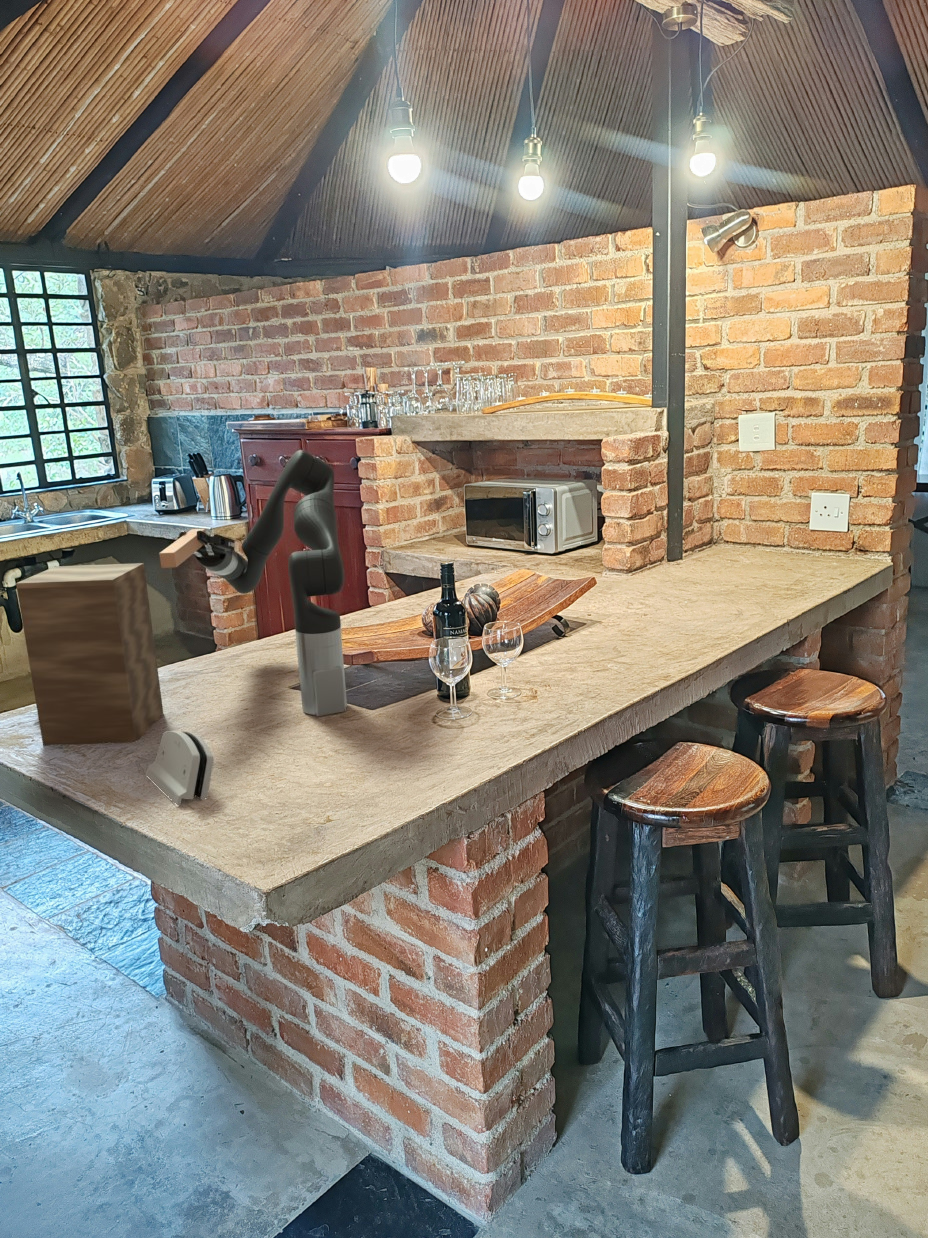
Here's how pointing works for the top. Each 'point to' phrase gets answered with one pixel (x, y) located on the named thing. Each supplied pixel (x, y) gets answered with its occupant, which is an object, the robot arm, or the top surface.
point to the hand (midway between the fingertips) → (190, 535)
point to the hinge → (182, 766)
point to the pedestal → (91, 653)
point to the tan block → (180, 549)
